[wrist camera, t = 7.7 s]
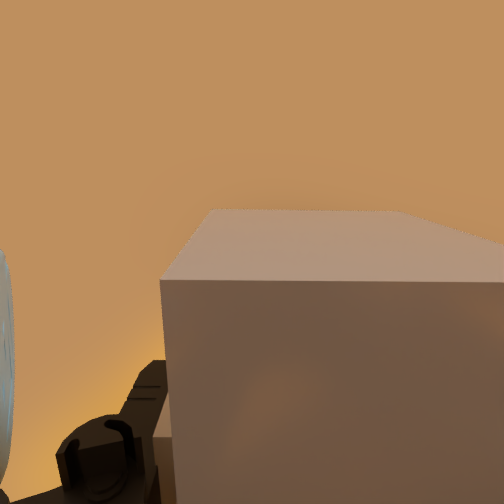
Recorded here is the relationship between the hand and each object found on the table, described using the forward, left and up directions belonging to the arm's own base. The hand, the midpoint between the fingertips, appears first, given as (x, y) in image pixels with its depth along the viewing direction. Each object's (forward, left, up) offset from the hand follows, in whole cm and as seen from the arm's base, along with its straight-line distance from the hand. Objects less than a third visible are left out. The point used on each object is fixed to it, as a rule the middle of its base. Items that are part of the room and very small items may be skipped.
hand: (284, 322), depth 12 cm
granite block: (0, -5, -7) cm, 9 cm away
